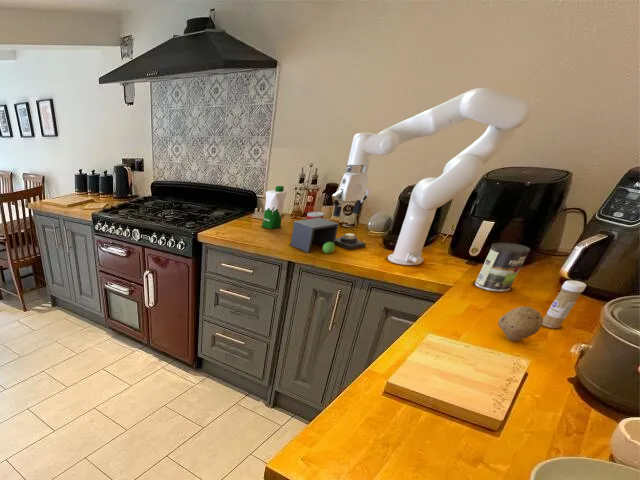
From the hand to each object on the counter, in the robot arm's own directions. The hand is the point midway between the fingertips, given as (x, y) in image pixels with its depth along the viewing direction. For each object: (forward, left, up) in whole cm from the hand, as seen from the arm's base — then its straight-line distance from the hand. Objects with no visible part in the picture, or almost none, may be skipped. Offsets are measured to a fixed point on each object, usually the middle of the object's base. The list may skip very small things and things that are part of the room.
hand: (346, 214), depth 171 cm
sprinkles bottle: (-72, -31, -18) cm, 80 cm away
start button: (+14, -12, -14) cm, 24 cm away
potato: (-78, -14, -18) cm, 81 cm away
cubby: (+16, +4, -18) cm, 24 cm away
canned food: (+31, -2, -18) cm, 36 cm away
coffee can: (-42, -37, -18) cm, 59 cm away
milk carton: (+53, +11, -18) cm, 57 cm away
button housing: (+14, -12, -18) cm, 26 cm away
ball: (+5, +2, -15) cm, 16 cm away
